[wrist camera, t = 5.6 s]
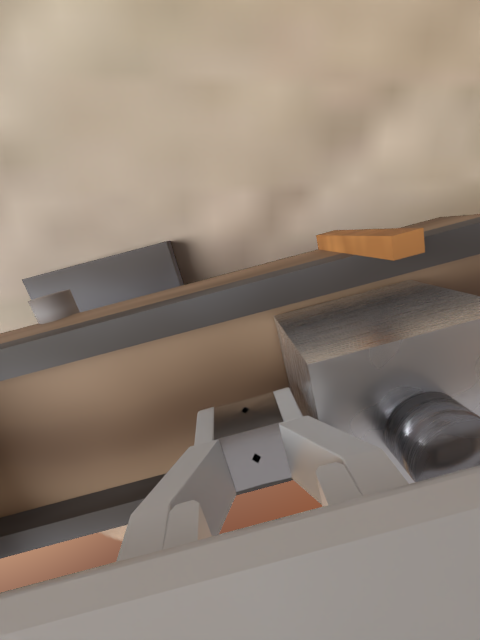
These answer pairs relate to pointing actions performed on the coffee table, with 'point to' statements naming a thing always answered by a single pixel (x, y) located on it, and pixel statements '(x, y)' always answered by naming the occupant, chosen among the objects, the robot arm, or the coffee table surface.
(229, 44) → the coffee table surface
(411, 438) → the rider
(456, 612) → the robot arm
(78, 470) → the grey gold rectangular frame
